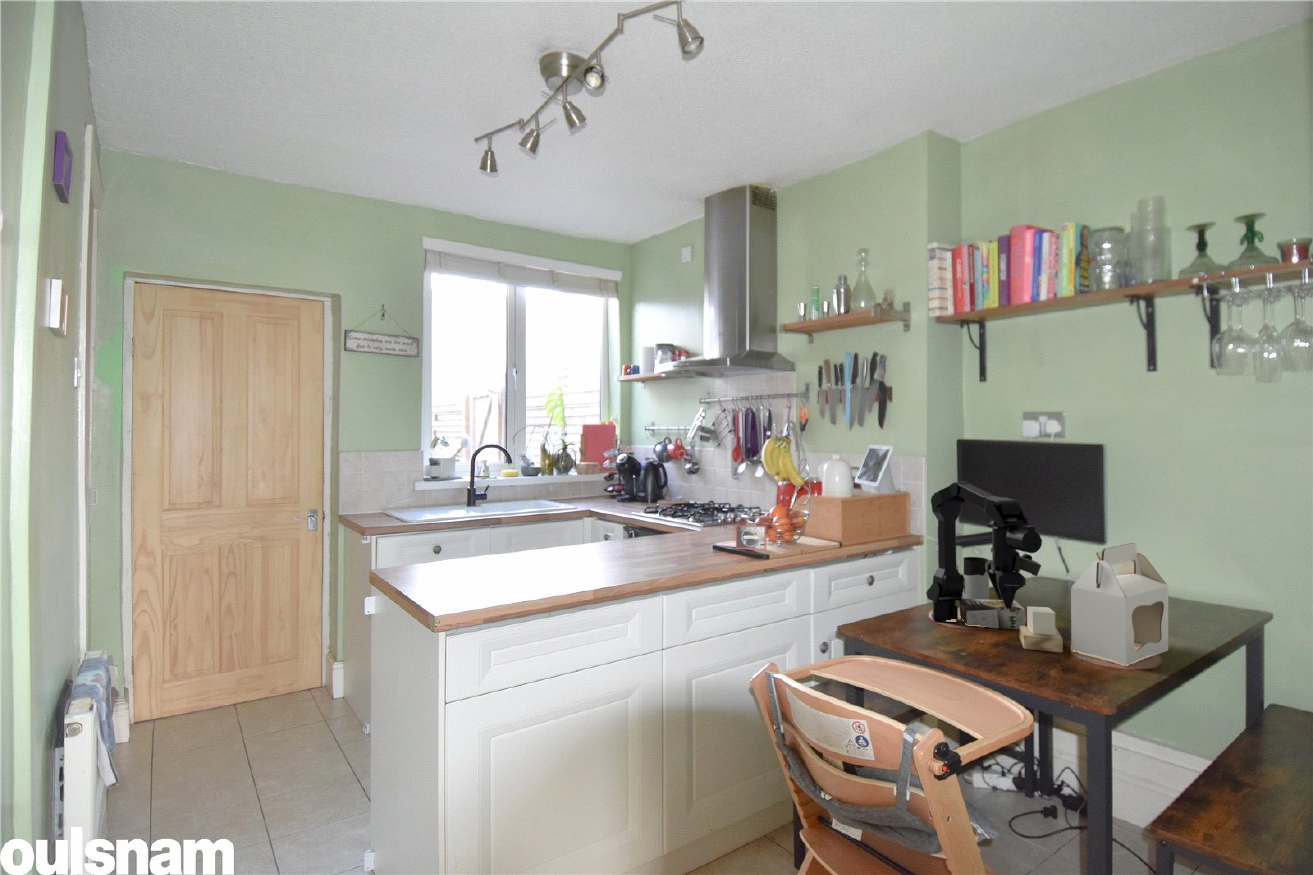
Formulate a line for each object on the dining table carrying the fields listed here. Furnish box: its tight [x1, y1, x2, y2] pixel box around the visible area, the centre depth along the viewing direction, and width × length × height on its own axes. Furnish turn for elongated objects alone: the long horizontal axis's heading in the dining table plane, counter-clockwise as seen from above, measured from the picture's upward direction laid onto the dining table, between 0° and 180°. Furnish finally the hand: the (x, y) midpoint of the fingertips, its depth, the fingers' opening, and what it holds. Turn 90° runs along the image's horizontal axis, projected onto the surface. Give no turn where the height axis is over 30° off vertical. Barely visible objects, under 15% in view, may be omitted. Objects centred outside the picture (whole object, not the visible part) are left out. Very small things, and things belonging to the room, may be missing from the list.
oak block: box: [1019, 625, 1064, 653], centre depth 182 cm, size 9×9×4 cm
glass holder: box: [956, 556, 990, 600], centre depth 224 cm, size 9×14×15 cm, turn 67°
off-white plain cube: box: [1026, 606, 1056, 635], centre depth 182 cm, size 5×5×6 cm
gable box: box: [1070, 542, 1169, 665], centre depth 176 cm, size 22×13×28 cm, turn 120°
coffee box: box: [958, 598, 1026, 630], centre depth 201 cm, size 9×6×16 cm
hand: (1004, 604), depth 179 cm, fingers open, 9 cm apart
